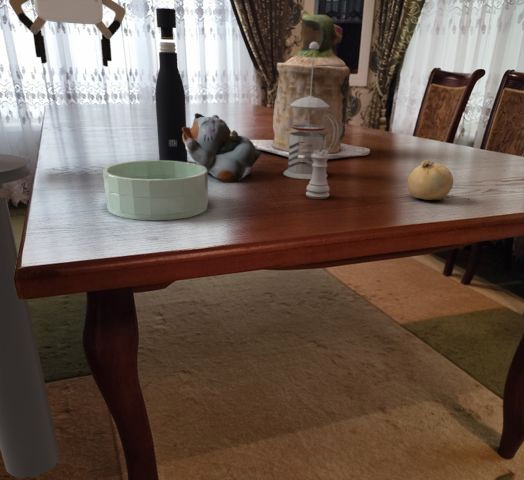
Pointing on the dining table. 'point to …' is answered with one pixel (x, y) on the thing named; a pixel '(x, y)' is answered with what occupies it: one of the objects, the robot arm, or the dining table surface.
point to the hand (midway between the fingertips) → (75, 64)
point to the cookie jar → (313, 91)
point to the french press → (307, 135)
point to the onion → (430, 181)
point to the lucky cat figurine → (219, 148)
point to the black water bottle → (169, 93)
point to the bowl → (156, 189)
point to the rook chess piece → (318, 176)
